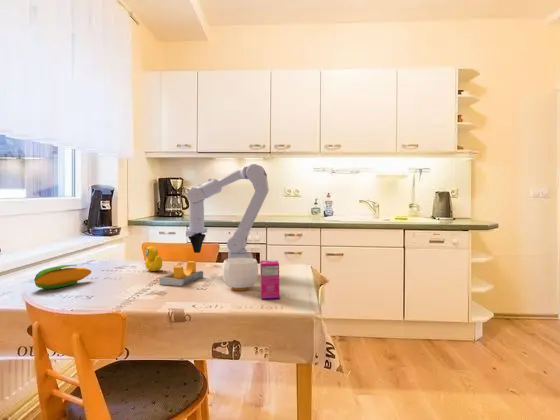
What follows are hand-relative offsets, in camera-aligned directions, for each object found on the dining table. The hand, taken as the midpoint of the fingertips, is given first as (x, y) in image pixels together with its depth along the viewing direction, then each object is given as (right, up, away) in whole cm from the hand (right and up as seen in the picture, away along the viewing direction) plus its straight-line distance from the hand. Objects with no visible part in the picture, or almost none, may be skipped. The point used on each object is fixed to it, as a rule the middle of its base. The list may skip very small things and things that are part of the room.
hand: (197, 252), depth 165 cm
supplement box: (+30, -11, -34) cm, 46 cm away
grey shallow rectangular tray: (-4, -9, -12) cm, 16 cm away
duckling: (-19, -8, +6) cm, 22 cm away
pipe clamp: (-3, -10, -12) cm, 16 cm away
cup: (+19, -10, -23) cm, 31 cm away
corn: (-43, -10, -20) cm, 48 cm away
